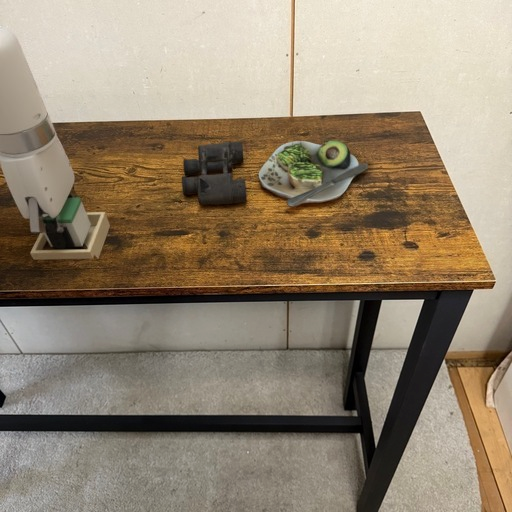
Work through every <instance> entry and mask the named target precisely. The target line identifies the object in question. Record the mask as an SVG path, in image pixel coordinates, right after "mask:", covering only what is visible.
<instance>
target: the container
mask: <svg viewBox="0 0 512 512" xmlns="http://www.w3.org/2000/svg"><path fill="white" fill-rule="evenodd" d="M60 217H61V220H62V224H63V227H67V229H68V231H69V233H70V236H71V238H72V240H73V242H74V244H75V246H74V247H83V246H84V241H85V238H86V236H87V233H88V231H89V228H90V226H91V223H90V221H89V219H88V216H87V214H86V209H85V206H84V204H83V201H82V198H81V197H78V198H67V199H66V201H65V203H64V205H63V207H62V209H61V211H60ZM46 220H47V224H49V223H51V224H55V223H54V220H53V218H51V217H46ZM44 235H45V237H46V239H47V241H46V242H48V245H49V246H50V248H53V246H52V244H51V242H50V240H49V238H48V236H47V234H46V233H44Z"/></svg>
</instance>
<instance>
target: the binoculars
mask: <svg viewBox="0 0 512 512" xmlns="http://www.w3.org/2000/svg"><path fill="white" fill-rule="evenodd" d="M243 149H244V148H243V141H224V142H220V143H214V144H201V145H197V155H198V158H185V157H184V158H183V160H182V162H183V163H182V164H183V173H184V176H183V175H182V177H181V188H182V193H183V196H186V195H191V194H192V195H193V194H197V199H198V204H199V206H203V205H204V206H205V205H232V204H237V203H238V204H239V203H247V202H248V199H247V186H246V178H235V179H234V176H233V172H234V170H233V169H234V166H233V165H237V164H242V163H244V150H243ZM229 172H230V173H229ZM216 173H217V174H216ZM199 174H201V175H199Z"/></svg>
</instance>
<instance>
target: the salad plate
mask: <svg viewBox="0 0 512 512" xmlns="http://www.w3.org/2000/svg"><path fill="white" fill-rule="evenodd" d="M368 168H369V163H367V162H363V163H361V162H359V160H358V159H357V158H356V156H355V155H353V154H352V153H351V151H350V149H349V146H347V144H346V143H344V142H343V141H340V140H336V139H330V140H328V141H325V142H324V143H323V144H322V145H321V144H318V143H314V142H310V141H305V140H295V141H289V142H286V143H283V144H282V145H280V146H278V147H277V148H276V150H275V151H274V152H272V154H271V156H270V157H269V158H268V159H267V161H265V163H263V166H262V167H261V168H260V169H259V171H258V180H259V183H260V184H261V185H262V187H263V188H264V189H266V190H268V191H269V192H271V193H272V194H273V195H275V196H277V197H279V198H283V199H286V202H285V203H286V206H288V207H291V208H294V207H297V206H300V205H302V204H308V203H310V204H311V203H324V202H329V201H334V200H337V199H339V198H341V196H342V195H343V194H344V193H345V192H346V191H347V190H348V188H349V187H350V185H351V182H352V180H354V178H355V177H357V176H358V175H360V174H362V173H363V172H364V171H366V170H367V169H368Z"/></svg>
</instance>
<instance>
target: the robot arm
mask: <svg viewBox="0 0 512 512" xmlns="http://www.w3.org/2000/svg"><path fill="white" fill-rule="evenodd" d="M31 70H32V69H31V67H30V65H29V62H28V61H27V57H26V55H25V52H24V50H23V48H22V46H21V43H20V41H19V39H18V37H17V36H16V34H15V33H14V32H13V31H12V30H11V29H9V27H6V26H3V25H0V168H1V171H2V174H3V177H4V180H5V182H6V184H7V187H8V189H9V192H10V194H11V196H12V198H13V200H14V202H15V205H16V207H17V209H18V211H19V212H20V214H21V216H22V218H23V219H25V220H29V226H30V232H31V234H40V233H46V234H47V236H48V238H49V240H50V242H51V244H52V246H53V247H52V248H53V249H54V250H74V248H75V247H76V246H75V244H74V242H73V240H72V238H71V236H70V233H69V231H68V229H67V227H63V224H62V220H61V217H60V211H61V209H62V207H63V205H64V203H65V201H66V199H67V198H79V197H78V194H77V192H76V191H75V179H76V177H75V176H76V175H75V173H74V169H73V166H72V164H71V162H70V160H69V157H68V155H67V153H66V151H65V149H64V147H63V145H62V143H61V141H60V139H59V138H58V134H57V132H56V129H55V126H54V124H53V122H52V120H51V117H50V115H49V112H48V110H47V107H46V105H45V102H44V100H43V97H42V95H41V91H40V90H39V87H38V85H37V83H36V80H35V78H34V75H33V73H32V71H31ZM46 217H51V218H53V220H54V223H55V224H51V223H49V224H47V220H46Z"/></svg>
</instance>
